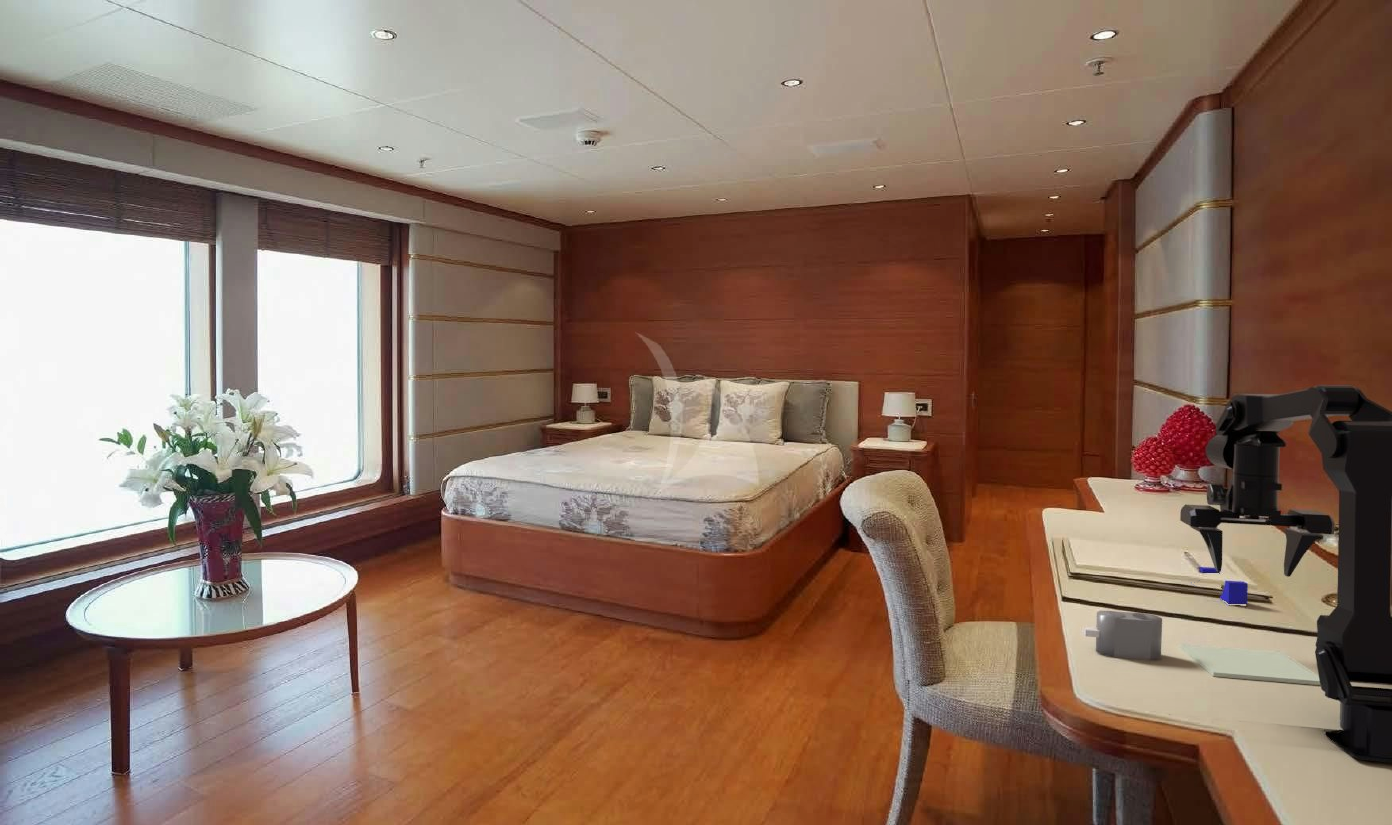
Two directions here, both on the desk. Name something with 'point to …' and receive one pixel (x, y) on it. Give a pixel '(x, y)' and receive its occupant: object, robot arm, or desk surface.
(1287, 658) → the sage pad
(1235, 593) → the blue blocks
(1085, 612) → the desk surface
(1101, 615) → the rounded connector
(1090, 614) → the desk surface
